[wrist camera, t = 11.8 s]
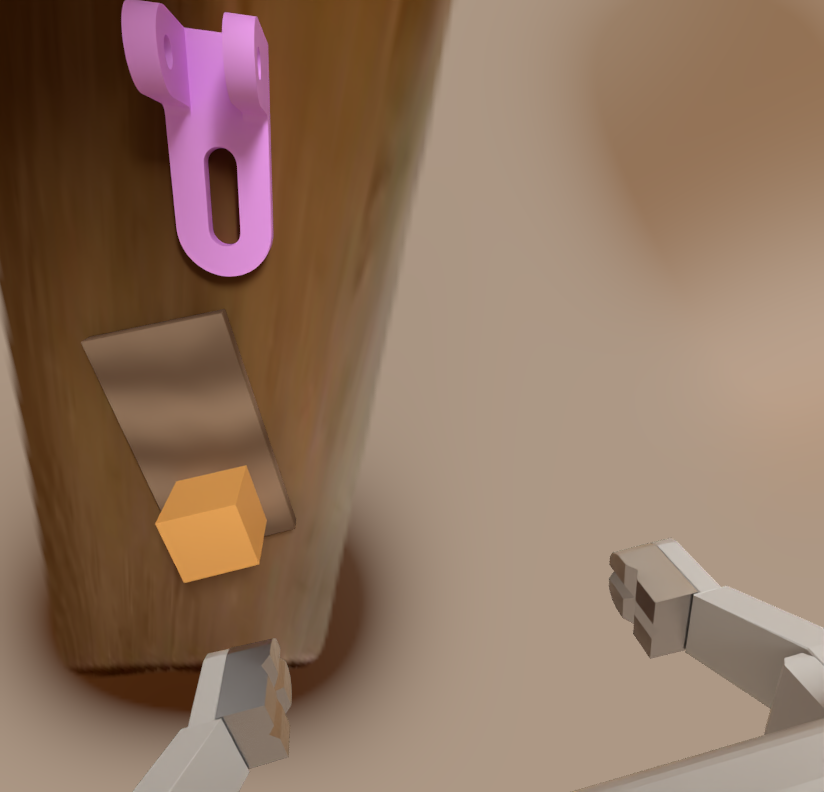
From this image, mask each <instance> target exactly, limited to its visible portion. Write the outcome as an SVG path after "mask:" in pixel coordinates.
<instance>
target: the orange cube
mask: <svg viewBox="0 0 824 792" xmlns="http://www.w3.org/2000/svg"><path fill="white" fill-rule="evenodd" d="M266 521H267V520H266V517H265V514H264V512H263V509H262V506H261V503H260V501H259V498H258V495H257V493H256V490H255V487H254V484H253V482H252V479H251V476H250V474H249V471H248V468H247V465H245V466H241V467H236V468H232V469H228V470H224V471H219V472H215V473H211V474H206V475H202V476H198V477H193V478H189V479H185V480H180V481H176V483H175V485H174V487H173V489H172V491H171V493H170V495H169V497H168V499H167V501H166V503H165V505H164V507H163V509H162V511H161V513H160V515H159V517H158V519H157V521H156V523H155V524H156V526H157V528H158V531H159V533H160V535H161V537H162V539H163V541H164V543H165V545H166V547H167V549H168V551H169V553H170V555H171V557H172V559H173V561H174V563H175V565H176V567H177V569H178V572H179V574H180V576H181V578H182V580H183V582H184V583H186V582H190V581H194V580H198V579H202V578H206V577H210V576H215V575H219V574H223V573H227V572H231V571H235V570H239V569H243V568H247V567H251V566H255V565H259V563H260V557H261V551H262V545H263V539H264V533H265V527H266Z"/></svg>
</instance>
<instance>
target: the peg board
mask: <svg viewBox="0 0 824 792" xmlns="http://www.w3.org/2000/svg"><path fill="white" fill-rule="evenodd" d="M81 344H82V346H83V348H84V350H85V352H86V354H87V357H88V359H89V361H90V363H91V365H92V367H93V369H94V371H95V373H96V375H97V378H98V380H99V382H100V384H101V386H102V388H103V390H104V392H105V394H106V397H107V399H108V401H109V403H110V405H111V407H112V409H113V411H114V413H115V415H116V418H117V420H118V422H119V424H120V426H121V428H122V430H123V432H124V434H125V436H126V439H127V441H128V443H129V445H130V447H131V449H132V451H133V453H134V455H135V457H136V460H137V462H138V464H139V466H140V468H141V470H142V472H143V474H144V476H145V479H146V481H147V483H148V485H149V487H150V489H151V491H152V493H153V495H154V497H155V500H156V502H157V504H158V506H159V508H160V510H161V511H162V509H163V507H164V505H165V503H166V501H167V499H168V497H169V495H170V493H171V491H172V489H173V487H174V485H175V483H176V481H180V480H185V479H189V478H193V477H198V476H202V475H206V474H211V473H215V472H219V471H224V470H228V469H232V468H236V467H241V466H245V465H247V468H248V471H249V474H250V476H251V479H252V482H253V484H254V487H255V490H256V493H257V495H258V498H259V501H260V503H261V506H262V509H263V512H264V514H265V517H266V520H267V521H266V527H265V533H264V536H267V535H271V534H275V533H279V532H283V531H287V530H292V529H295V525H296V518H295V515H294V512H293V509H292V506H291V503H290V500H289V497H288V494H287V491H286V488H285V486H284V483H283V480H282V477H281V474H280V471H279V468H278V465H277V462H276V459H275V456H274V453H273V450H272V447H271V444H270V441H269V438H268V435H267V432H266V429H265V426H264V423H263V420H262V417H261V414H260V411H259V408H258V405H257V402H256V400H255V397H254V394H253V391H252V388H251V385H250V382H249V379H248V376H247V373H246V370H245V367H244V364H243V361H242V358H241V355H240V352H239V349H238V346H237V343H236V340H235V337H234V334H233V331H232V328H231V325H230V322H229V319H228V317H227V314H226V311H225V309H222V310H217V311H212V312H208V313H203V314H198V315H193V316H188V317H183V318H179V319H174V320H169V321H164V322H159V323H154V324H149V325H145V326H140V327H135V328H130V329H125V330H120V331H116V332H111V333H106V334H101V335H96V336H91V337H88V338H87V339H85V340H83V341H82V342H81Z"/></svg>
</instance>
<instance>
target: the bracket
mask: <svg viewBox="0 0 824 792" xmlns="http://www.w3.org/2000/svg"><path fill="white" fill-rule="evenodd" d="M121 26H122V38H123V45H124V51H125V56H126V60H127V64H128V68H129V71H130V74H131V77H132V79H133V82H134V84H135V86H136V88H137V89H138V91H139V92H140V93H142V94H143V95H145V96H148V97H150V98H152V99H154V100H156V101H158V102H160V103H162V105H163V107H164V111H165V118H166V128H167V139H168V149H169V159H170V169H171V179H172V189H173V199H174V209H175V219H176V229H177V234H178V238H179V241H180V243H181V245H182V247H183V249H184V251H185V252H186V254H187V255H188V256H189V257H190V258H191V259H192V261H194V262H195V263H196V264H197V265H198V266H200V267H201V268H203V269H204V270H206V271H208V272H210V273H213V274H216V275H220V276H228V277H231V276H240V275H243V274H246V273H249V272H250V271H252V270H254V269H255V268H257V267H258V266H259V265H260V264H261V263H262V261H263V260H264V259H265V258H266V256H267V255H268V253H269V251H270V248H271V246H272V242H273V204H272V169H271V133H270V98H269V62H268V43H267V41H266V38H265V36H264V33H263V31H262V28H261V25H260V23H259V20H258V18H257V17H255V16H248V15H241V14H234V13H227V12H225V13H224V15H223V22H222V33H220V32H212V31H205V30H197V29H190V28H184V27H183V26H182V25H181V23H180V22H179V21H178V20H177V19H176V18H175V17H174V16H173V15H172V13H171V12H170V11H169V10H168V9H167V8H166V7H165V6H164V5H163V4H162V3H156V2H149V1H141V0H125V1H124V3H123V7H122V15H121ZM219 148H225V149H227V150H229V151H230V152H231V153H232V154H233V156H234V157H235V159H236V163H237V175H238V194H239V214H240V238H239V240H238V241H237V242H236V243H234V244H226V243H223V242H221V241H220V240H219V239H218V238H217V237H216V236H215V234H214V231H213V223H212V209H211V195H210V181H209V168H208V159H209V156H210V154H211V153H212V152H213V151H214V150H216V149H219Z"/></svg>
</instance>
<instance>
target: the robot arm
mask: <svg viewBox="0 0 824 792" xmlns="http://www.w3.org/2000/svg"><path fill="white" fill-rule="evenodd" d="M610 566H611V567H612V569H613V570H614V572H613V574H612V575H611V576H610V578H609V589H610V593H611V596H612V600H613V602H614V604H615V606H616V608H617V610H618V612H619V613H620V615H621V616H622V618H624V619H626V620H628V621H630V622H631V623H633V624H634V630H633V634H634V636H635V637H636V639H637V640H638V641H639V643H640V644H641V646H642V647H643V649H644V650H645V652H646V653H647V655H648V656H649V657H650V658H655V657H659V656H663V655H667V654H671V653H676V652H680V651H684V650H686V651H685V652H686V653H687V654H689V655H690V656H692V657H693V658H695V659H697V660H698V661H699V662H701V663H702V664H704V665H705V666H707V667H708V668H710V669H711V670H713V671H714V672H716V673H717V674H719V675H721V676H722V677H723V678H725V679H726V680H728V681H729V682H731V683H733V684H734V685H736V686H737V687H739V688H740V689H742V690H743V691H745V692H746V693H748V694H749V695H751V696H752V697H754V698H755V699H757V700H758V701H760V702H761V703H763V704H764V705H766V706H767V707H769V708H770V713H769V717H768V721H767V724H766V728H765V734H764V735H763V736H760V737H756V738H753V739H749V740H746V741H743V742H739V743H736V744H733V745H729V746H726V747H722V748H719V749H716V750H712V751H709V752H705V753H702V754H699V755H695V756H692V757H688V758H685V759H682V760H678V761H674V762H671V763H668V764H664V765H661V766H657V767H654V768H651V769H647V770H644V771H640V772H637V773H633V774H630V775H626V776H623V777H620V778H616V779H613V780H609V781H606V782H603V783H599V784H596V785H592V786H589V787H585V788H582V789H579V790H575V791H572V792H824V628H823V627H821V626H818V625H816V624H814V623H811V622H809V621H807V620H805V619H802V618H800V617H798V616H795V615H793V614H791V613H788V612H786V611H784V610H782V609H779V608H777V607H775V606H773V605H770V604H768V603H765V602H763V601H761V600H759V599H756V598H754V597H752V596H750V595H747V594H745V593H743V592H740V591H738V590H736V589H734V588H731V587H729V586H723V587H721V586H720V585H718V583H717V582H716V581H715V580H714V579H713V578H712V577H711V576H710V575H709V574H708V573H707V572H706V571H705V570H704V569H703V568H702V567H701V566H700V565H699V564H698V563H697V562H696V561H695V560H694V559H693V557H691V555H689V553H688V552H687V551H686V550H685V549H684V548H683V547H682V546H681V545H680V544H679V543H678V542H677V541H676V540H674V539H672V538H668V539H664V540H660V541H656V542H652V543H647V544H643V545H639V546H636V547H632V548H628V549H624V550H621V551H617V552H613V553H612V554H611V556H610ZM291 698H292V691H291V678H290V673H289V669H288V666H287V664H286V661H285V660H283V659H281V658H280V646H279V644H278V642H277V640H276V639H269V640H264V641H260V642H255V643H251V644H246V645H242V646H237V647H233V648H229V649H225V650H221V651H216V652H212V653H208V654H207V656H206V657H205V659H204V661H203V664H202V669H201V673H200V678H199V682H198V686H197V690H196V695H195V698H194V703H193V707H192V711H191V715H190V720H189V724H188V727H186V728H183V729H181V730H180V731H179V732H178V733H177V735H176V736H175V737H174V738H173V740H172V741H171V742H170V744H169V745H168V746H167V748H166V749H165V750H164V751H163V753H162V754H161V756H160V757H159V758H158V759H157V761H156V762H155V763H154V764H153V766H152V767H151V768H150V770H149V771H148V772H147V773H146V775H145V776H144V777H143V779H142V780H141V781H140V782H139V784H138V785H137V787H136V788H135V789H134V790H133V792H239V791H240V789H241V787H242V785H243V783H244V781H245V779H246V777H247V776H248V774H249V770H248V769H251V768H254V767H258V766H261V765H264V764H267V763H271V762H274V761H277V760H280V759H284V758H287V757H288V755H289V738H290V724H289V721H288V719H287V717H286V713H287V711H288V709H289V708H290V706H291Z"/></svg>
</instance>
